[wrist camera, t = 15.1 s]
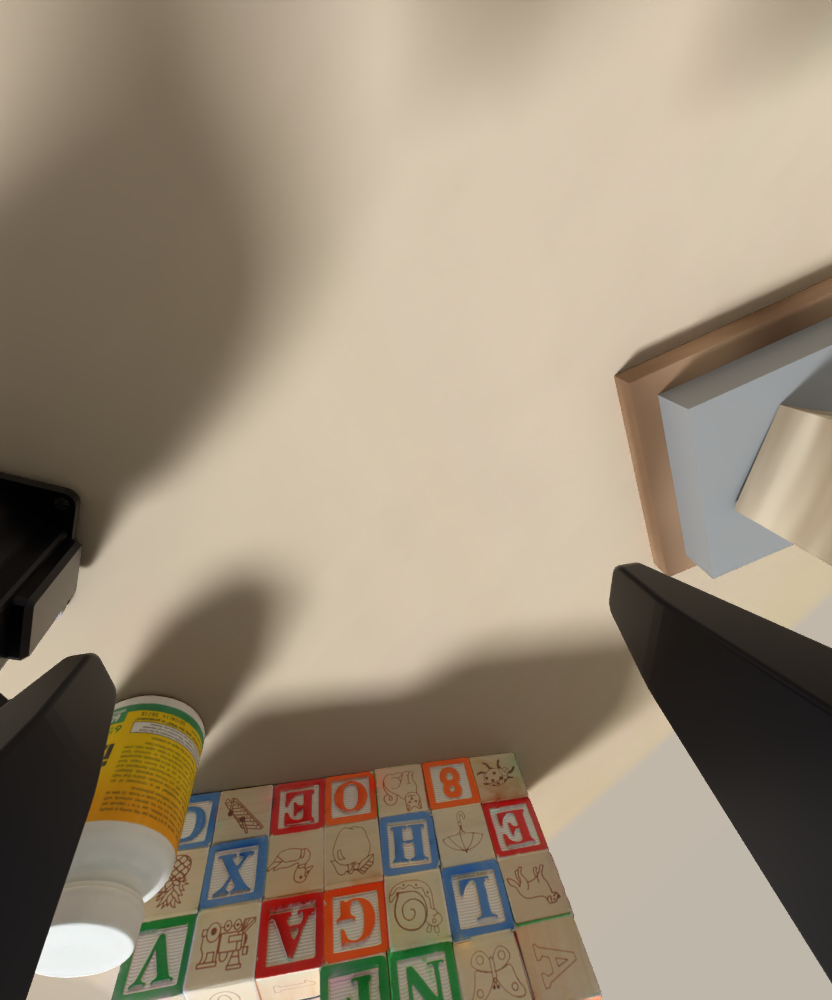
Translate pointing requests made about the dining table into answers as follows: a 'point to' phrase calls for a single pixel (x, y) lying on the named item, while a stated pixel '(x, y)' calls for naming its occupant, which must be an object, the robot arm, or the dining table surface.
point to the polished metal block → (794, 481)
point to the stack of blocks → (364, 894)
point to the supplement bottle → (126, 836)
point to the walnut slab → (682, 366)
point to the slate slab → (737, 441)
